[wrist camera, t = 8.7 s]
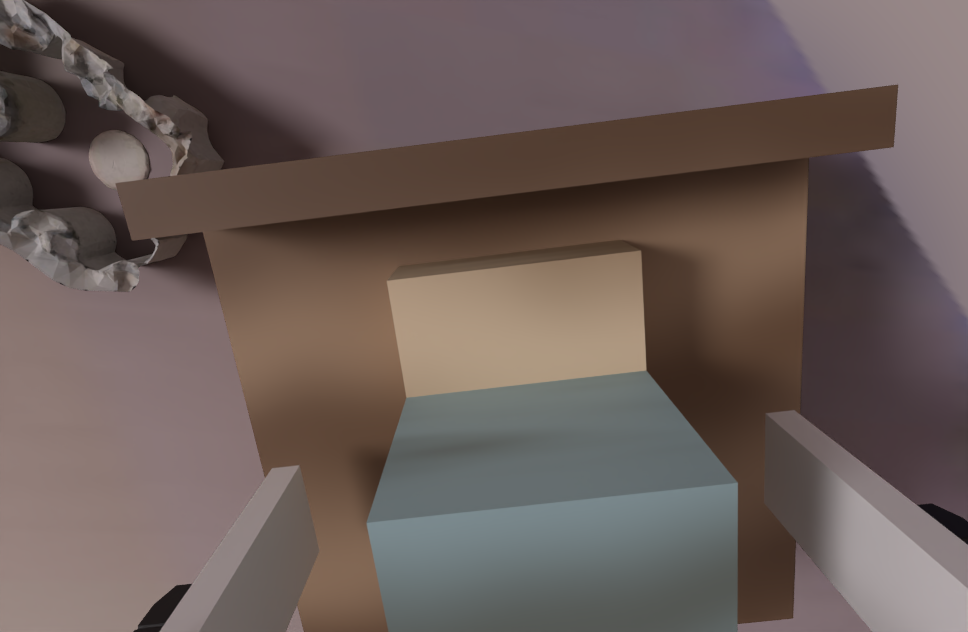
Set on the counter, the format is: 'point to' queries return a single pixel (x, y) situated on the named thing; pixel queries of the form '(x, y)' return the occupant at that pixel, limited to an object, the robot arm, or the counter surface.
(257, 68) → the counter surface
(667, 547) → the blue cube on tile
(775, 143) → the dock
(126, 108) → the miniature stone ruin
